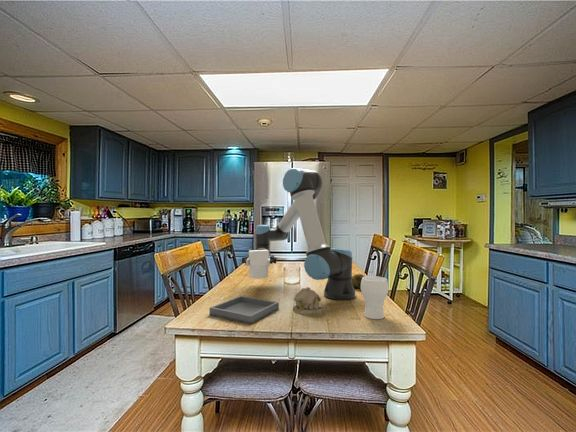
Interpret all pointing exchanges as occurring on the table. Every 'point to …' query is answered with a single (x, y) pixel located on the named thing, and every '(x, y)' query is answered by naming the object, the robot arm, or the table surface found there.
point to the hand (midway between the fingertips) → (257, 263)
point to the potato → (357, 280)
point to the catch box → (244, 309)
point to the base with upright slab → (258, 264)
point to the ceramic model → (307, 303)
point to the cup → (374, 295)
